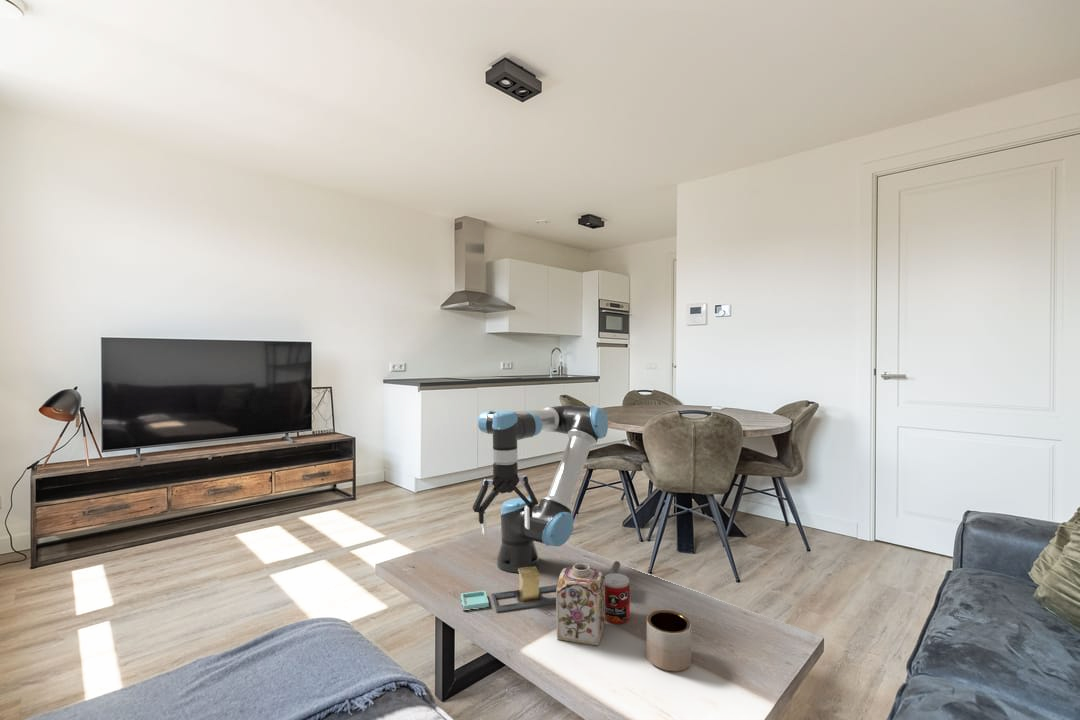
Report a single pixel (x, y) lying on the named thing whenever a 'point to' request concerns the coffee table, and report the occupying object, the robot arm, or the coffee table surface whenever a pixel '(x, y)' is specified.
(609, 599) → the canned food
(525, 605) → the rail
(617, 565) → the portable electronic device stand
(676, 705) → the coffee table surface
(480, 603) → the parts tray
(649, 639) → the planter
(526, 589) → the block
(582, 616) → the decorative jar
